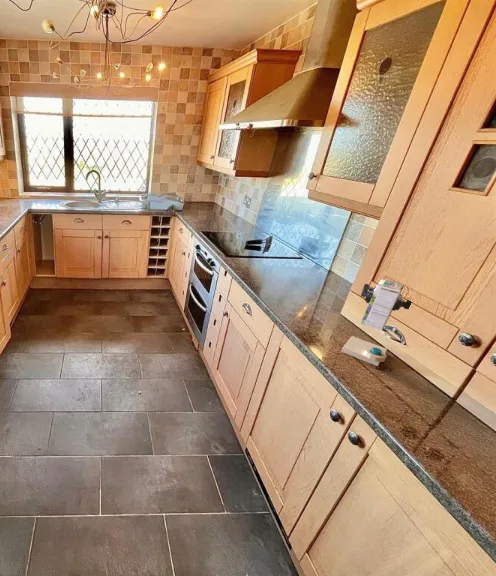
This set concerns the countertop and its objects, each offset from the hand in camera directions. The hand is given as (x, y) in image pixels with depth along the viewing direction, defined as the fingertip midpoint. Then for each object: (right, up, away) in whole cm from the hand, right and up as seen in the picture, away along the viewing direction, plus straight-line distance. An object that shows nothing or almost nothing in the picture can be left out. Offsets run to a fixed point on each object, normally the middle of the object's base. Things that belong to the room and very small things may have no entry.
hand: (380, 303), depth 94 cm
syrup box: (+2, -7, +5) cm, 9 cm away
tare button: (+2, -16, +4) cm, 17 cm away
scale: (+2, -17, +10) cm, 20 cm away
